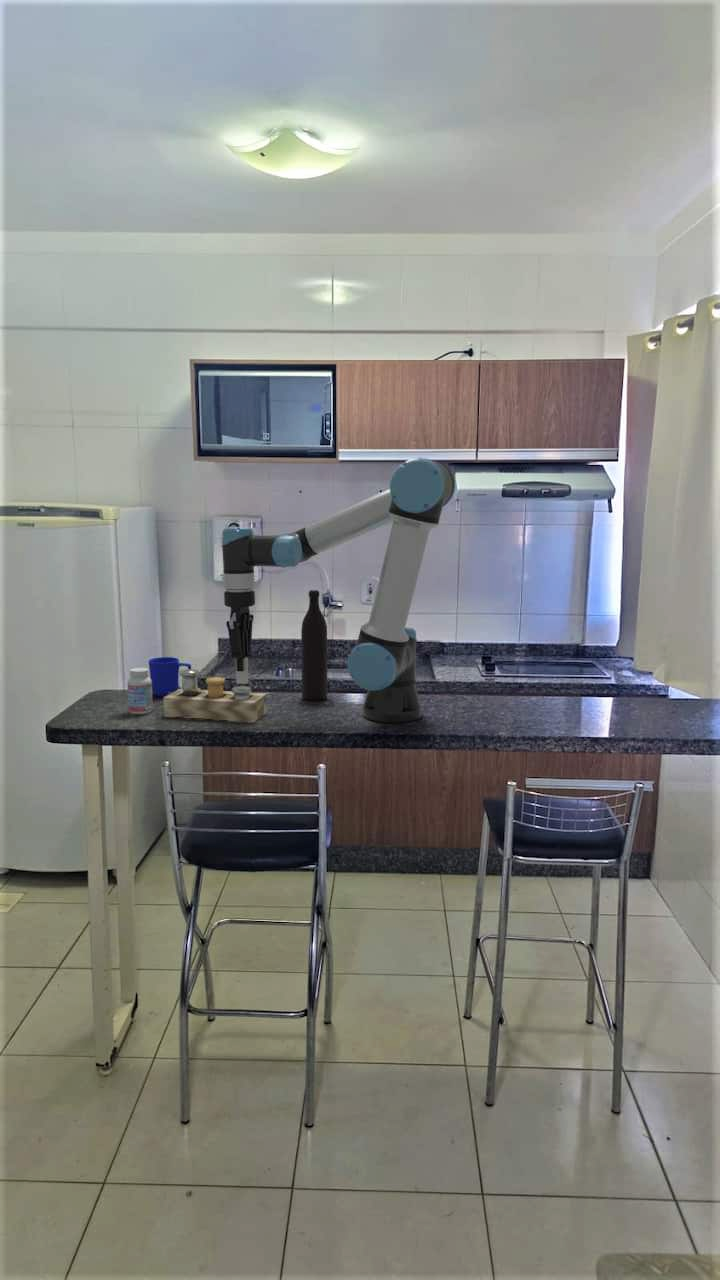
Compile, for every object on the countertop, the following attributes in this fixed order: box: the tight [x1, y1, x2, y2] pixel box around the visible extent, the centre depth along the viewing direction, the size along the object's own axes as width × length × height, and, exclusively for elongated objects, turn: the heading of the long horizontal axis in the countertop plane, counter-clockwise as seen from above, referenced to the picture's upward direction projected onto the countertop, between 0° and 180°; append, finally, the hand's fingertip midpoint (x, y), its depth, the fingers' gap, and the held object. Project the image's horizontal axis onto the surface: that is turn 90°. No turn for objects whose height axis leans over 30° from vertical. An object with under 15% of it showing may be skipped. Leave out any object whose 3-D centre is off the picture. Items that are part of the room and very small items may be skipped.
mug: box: [148, 656, 192, 698], centre depth 223 cm, size 8×12×10 cm
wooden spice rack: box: [162, 687, 268, 724], centre depth 204 cm, size 24×10×5 cm, turn 78°
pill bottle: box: [126, 667, 154, 715], centre depth 206 cm, size 6×6×11 cm
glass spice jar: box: [231, 685, 252, 700], centre depth 202 cm, size 5×5×7 cm
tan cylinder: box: [205, 676, 226, 698], centre depth 203 cm, size 5×5×7 cm
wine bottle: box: [300, 589, 328, 702], centre depth 219 cm, size 7×7×30 cm
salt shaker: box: [179, 668, 200, 697], centre depth 205 cm, size 5×5×7 cm
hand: (242, 682), depth 201 cm, fingers closed
